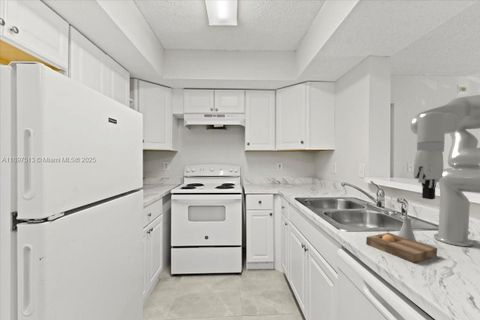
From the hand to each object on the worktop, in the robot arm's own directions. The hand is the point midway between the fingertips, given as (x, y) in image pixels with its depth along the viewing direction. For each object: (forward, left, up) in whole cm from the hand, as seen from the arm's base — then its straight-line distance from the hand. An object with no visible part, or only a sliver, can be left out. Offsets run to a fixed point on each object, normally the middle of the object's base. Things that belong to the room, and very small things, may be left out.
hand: (428, 198), depth 84 cm
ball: (+2, -12, -19) cm, 23 cm away
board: (+2, -8, -22) cm, 23 cm away
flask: (-11, -13, -22) cm, 28 cm away
